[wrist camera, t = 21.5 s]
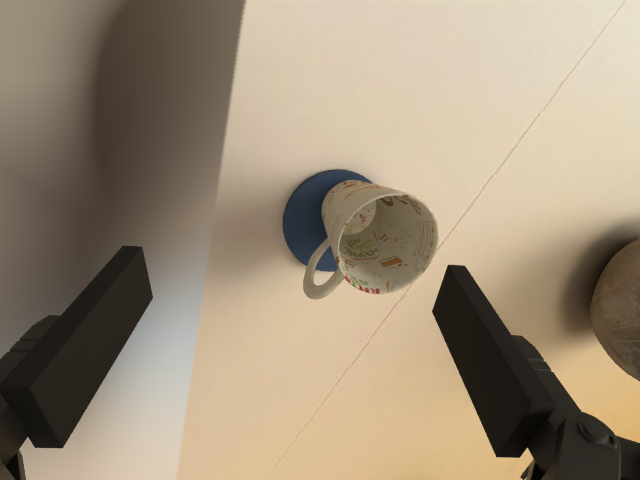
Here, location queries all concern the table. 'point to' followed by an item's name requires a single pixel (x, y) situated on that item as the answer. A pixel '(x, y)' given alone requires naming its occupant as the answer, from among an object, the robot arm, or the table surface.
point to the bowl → (619, 309)
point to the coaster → (312, 217)
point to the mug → (373, 239)
